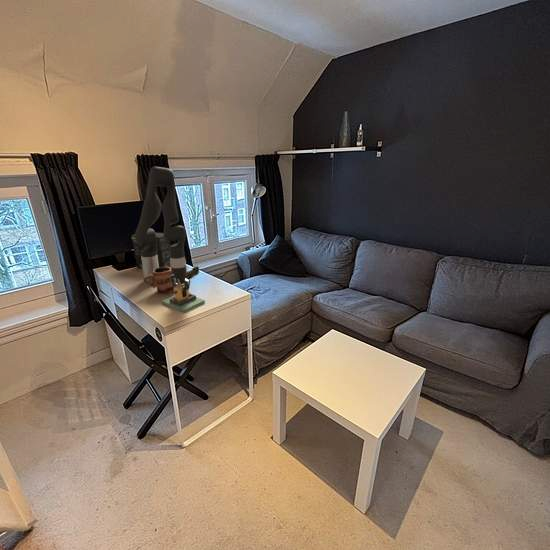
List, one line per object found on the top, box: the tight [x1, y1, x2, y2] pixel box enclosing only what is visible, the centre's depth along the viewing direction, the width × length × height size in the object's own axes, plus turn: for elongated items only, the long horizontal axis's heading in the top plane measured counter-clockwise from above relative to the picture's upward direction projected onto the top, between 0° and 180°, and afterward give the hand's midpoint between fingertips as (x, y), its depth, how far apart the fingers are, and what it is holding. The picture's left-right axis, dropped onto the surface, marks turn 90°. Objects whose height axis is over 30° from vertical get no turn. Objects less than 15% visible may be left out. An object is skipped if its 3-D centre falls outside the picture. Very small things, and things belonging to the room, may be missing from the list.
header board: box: [161, 292, 206, 314], centre depth 159 cm, size 18×14×4 cm
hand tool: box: [186, 266, 200, 280], centre depth 196 cm, size 19×4×5 cm, turn 157°
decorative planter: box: [143, 267, 175, 295], centre depth 171 cm, size 20×12×14 cm, turn 131°
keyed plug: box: [171, 284, 190, 301], centre depth 157 cm, size 4×9×7 cm, turn 146°
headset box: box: [130, 232, 171, 270], centre depth 208 cm, size 22×12×26 cm, turn 73°
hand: (181, 295), depth 158 cm, fingers closed on keyed plug, 3 cm apart
